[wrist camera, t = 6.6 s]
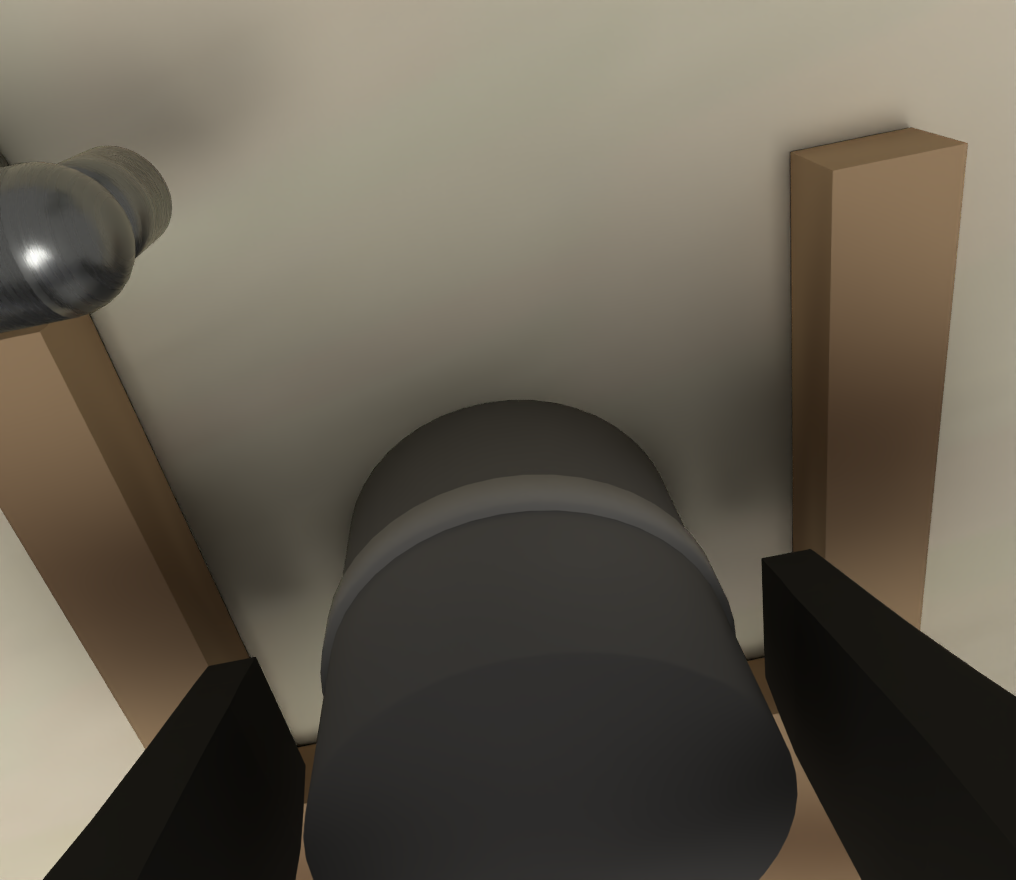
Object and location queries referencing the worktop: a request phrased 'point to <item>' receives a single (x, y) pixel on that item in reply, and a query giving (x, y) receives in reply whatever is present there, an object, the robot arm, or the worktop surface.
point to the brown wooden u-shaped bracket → (815, 448)
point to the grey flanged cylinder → (536, 672)
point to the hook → (74, 232)
